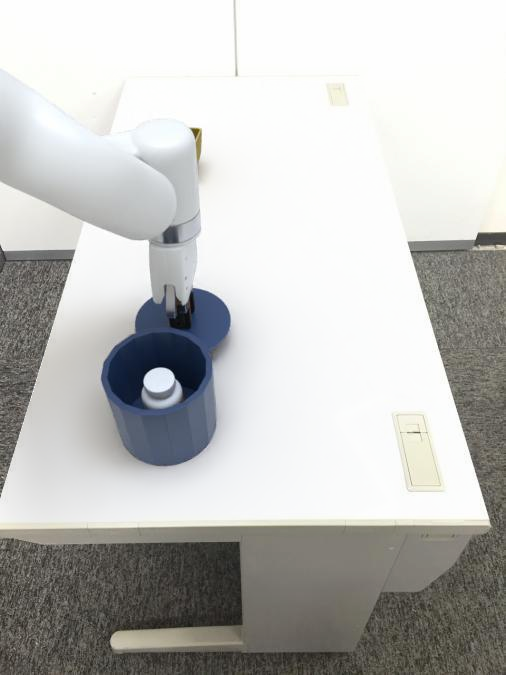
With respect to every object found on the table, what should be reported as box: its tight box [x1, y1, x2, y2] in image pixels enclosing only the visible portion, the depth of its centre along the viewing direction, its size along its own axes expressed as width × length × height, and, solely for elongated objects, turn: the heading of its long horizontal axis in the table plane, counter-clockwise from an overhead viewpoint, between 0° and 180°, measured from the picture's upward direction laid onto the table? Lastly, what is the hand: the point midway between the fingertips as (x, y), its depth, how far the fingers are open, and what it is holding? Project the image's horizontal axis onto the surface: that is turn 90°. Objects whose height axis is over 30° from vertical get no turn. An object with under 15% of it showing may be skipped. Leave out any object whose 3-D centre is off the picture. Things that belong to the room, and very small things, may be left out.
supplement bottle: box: [141, 368, 184, 410], centre depth 71 cm, size 5×5×10 cm
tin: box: [100, 328, 217, 467], centre depth 71 cm, size 14×14×12 cm
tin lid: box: [134, 287, 232, 353], centre depth 81 cm, size 15×15×6 cm
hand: (182, 318), depth 82 cm, fingers closed on tin lid, 2 cm apart
